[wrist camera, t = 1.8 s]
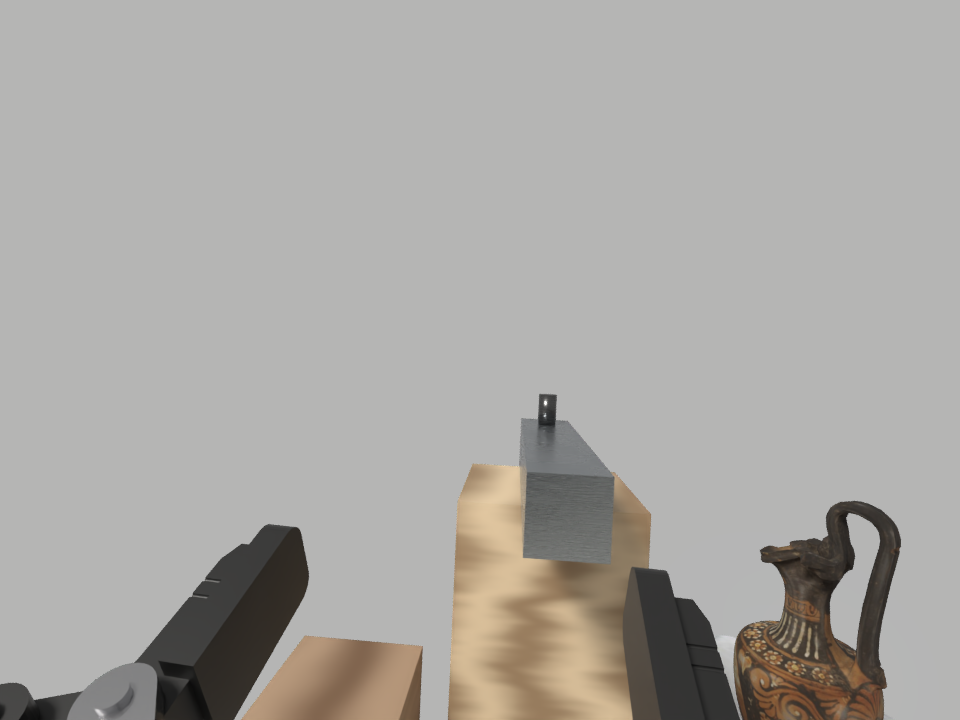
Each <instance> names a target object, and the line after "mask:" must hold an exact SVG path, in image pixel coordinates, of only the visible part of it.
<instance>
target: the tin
mask: <svg viewBox="0 0 960 720" xmlns="http://www.w3.org/2000/svg"><path fill="white" fill-rule="evenodd" d="M556 401H557V395H553V394H539V412H538V419H523V418H522V419H521V439H520V461H519V465H520V466H519V467H520V494H521V520H522V546H523V558H531V559H544V560H558V561H571V562H585V563H598V564H611V546H612V524H613V503H614V481H615V477H614V476H613V475H612V473H611V472H610V471H609V470H608V469H607V467H606V466H605V465H604V464H603V463H602V462H601V460H600V459H599V458H598V457H597V455H596V454H595V453H594V452H593V451H592V450H591V448H590V447H589V446H588V445H587V444H586V442H585V441H584V440H583V439H582V438H581V436H580V435H579V434H578V433H577V432H576V430H575V429H574V428H573V427H572V426H571V424H570V423H569V422H568V421H560V420H556Z"/></svg>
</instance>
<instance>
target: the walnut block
mask: <svg viewBox="0 0 960 720" xmlns="http://www.w3.org/2000/svg"><path fill="white" fill-rule="evenodd" d="M422 650H423V647H422V646H415V645H404V644H392V643H381V642H370V641H359V640H358V641H357V640H348V639H336V638H325V637H314V636H304V638H303V639H302V640H301V642H300V643H299V644H298V645H297V647H296V648H295V649H294V651H293V652H292V653H291V655H290V656H289V657H288V659H287V660H286V661H285V663H284V664H283V665H282V667H281V668H280V669H279V670H278V672H277V673H276V675H275V676H274V677H273V678H272V680H271V681H270V682H269V684H268V685H267V686H266V688H265V689H264V690H263V692H262V693H261V694H260V696H259V697H258V698H257V700H256V701H255V702H254V703H253V705H252V706H251V707H250V709H249V710H248V711H247V713H246V714H245V715H244V717H243V718H242V719H241V720H419V718H420V695H421V672H422Z"/></svg>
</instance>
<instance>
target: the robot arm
mask: <svg viewBox="0 0 960 720" xmlns="http://www.w3.org/2000/svg"><path fill="white" fill-rule="evenodd" d="M308 580H309V571H308V566H307V561H306V556H305V551H304V546H303V541H302V536H301V532H300V530H299V529H298V528H297V527H289V526H280V525H271V524H268V525H266V526H264V527H263V528H262V529H261V530H260V531H259V533H258V534H257V535H256V537H255V538H254V539H253V540H252V542H251V543H250V544H249V545H247V544H241V545H240V546H238V547H237V548H235V549H234V550H233V551H231V552H230V553H229V554H227V555H226V556H224V557H223V558H222V559H221V560H220V561H219V562H218V563H217V564H216V566H215V567H214V568H213V569H212V570H211V572H210V573H209V574H208V575H207V576H206V579H205V581H203V582H201V584H200V585H199V586H198V587H197V588H196V590H195V591H194V592H193V595H192V597H189V598H188V600H187V601H186V602H185V603H184V604H183V605H182V607H181V608H180V609H179V611H178V612H177V613H176V614H175V615H174V616H173V618H172V619H171V620H170V621H169V622H168V624H167V625H166V626H165V627H164V628H163V630H162V631H161V632H160V633H159V635H158V636H157V637H156V638H155V639H154V641H153V642H152V643H151V644H150V645H149V647H148V648H147V649H146V650H145V652H144V653H143V654H142V655H141V656H140V657H139V659H138V660H137V661H136V662H134V663H131V664H126V665H122V666H119V667H117V668H115V669H113V670H110V671H109V672H107V673H105V674H103V675H102V676H100V677H99V678H98V679H96V680H95V681H94V682H93V683H91V684H90V685H89V686H88V687H87V688H86V689H85V690H84V691H82V692H77V693H71V694H66V695H60V696H55V697H49V698H44V699H38V700H33V698H32V696H31V694H30V693H29V691H28V689H27V688H26V687H25V686H23V685H22V684H18V683H7V684H1V685H0V720H234V718H235V717H236V715H237V713H238V711H239V710H240V708H241V706H242V704H243V703H244V701H245V699H246V697H247V696H248V694H249V692H250V690H251V689H252V687H253V685H254V683H255V682H256V680H257V678H258V676H259V675H260V673H261V671H262V669H263V668H264V666H265V664H266V662H267V661H268V659H269V657H270V656H271V654H272V652H273V650H274V648H275V647H276V645H277V643H278V641H279V640H280V638H281V636H282V635H283V633H284V631H285V629H286V627H287V626H288V624H289V622H290V620H291V619H292V617H293V615H294V613H295V612H296V610H297V608H298V607H299V605H300V603H301V601H302V599H303V597H304V595H305V592H306V589H307V586H308ZM623 645H624V653H625V661H626V669H627V677H628V685H629V693H630V701H631V709H632V717H633V720H740V718H739V715H738V712H737V709H736V706H735V702H734V699H733V696H732V693H731V690H730V686H729V683H728V680H727V677H726V674H724V667H723V664H722V661H721V657H720V654H719V652H718V651H717V645H716V641H715V638H714V635H713V632H712V629H711V625H710V622H709V621H708V620H707V618H706V617H705V616H704V614H703V613H702V612H701V610H700V609H699V608H698V606H697V605H696V603H695V602H694V601H693V600H691V599H682V598H675V597H674V594H673V590H672V586H671V583H670V579H669V575H668V573H667V571H664V570H656V569H647V568H639V567H632V568H631V570H630V575H629V582H628V588H627V594H626V600H625V606H624V612H623Z"/></svg>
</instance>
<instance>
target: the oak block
mask: <svg viewBox="0 0 960 720" xmlns="http://www.w3.org/2000/svg"><path fill="white" fill-rule="evenodd" d="M611 473H612V475H613V476H614V477H615V481H614V503H613V524H612V546H611V564H598V563H585V562H571V561H558V560H544V559H531V558H523V546H522V520H521V494H520V467H518V466H517V467H516V466H501V465H485V464H473V465H472V467H471V470H470V472H469V475H468V477H467V480H466V482H465V485H464V487H463V490H462V492H461V495H460V497H459V500H458V506H457V530H456V551H455V574H454V575H455V576H454V596H453V619H452V642H451V643H452V644H451V664H450V686H449V687H450V688H449V708H448V720H633V717H632V709H631V701H630V693H629V685H628V677H627V669H626V661H625V653H624V645H623V612H624V606H625V600H626V594H627V588H628V582H629V575H630V570H631V568H632V567H639V568H647V569H649V568H648V567H649V548H650V526H651V514H650V512H649V511H648V510H647V509H646V508H645V507H644V506H643V504H642V503H641V502H640V501H639V500H638V499H637V498H636V497H635V495H634V494H633V493H632V492H631V491H630V490H629V488H628V487H627V486H626V485H625V484H624V483H623V481H622V480H621V479H620V478H619V477H618V476H617V475H616V474H615V473H614V472H611Z"/></svg>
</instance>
